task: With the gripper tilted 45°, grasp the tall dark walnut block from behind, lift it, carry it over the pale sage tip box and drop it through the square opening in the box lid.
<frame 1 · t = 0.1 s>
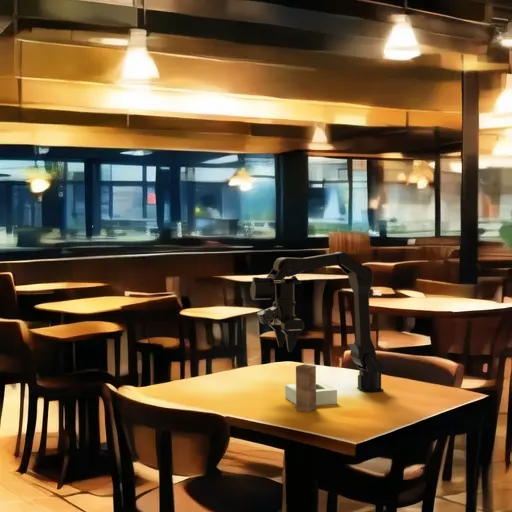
hand: (285, 349, 226), 14 cm above the table, tool pointing down, fingers open, 9 cm apart
walnut block: (306, 409, 210), on the table
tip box: (310, 400, 221), on the table
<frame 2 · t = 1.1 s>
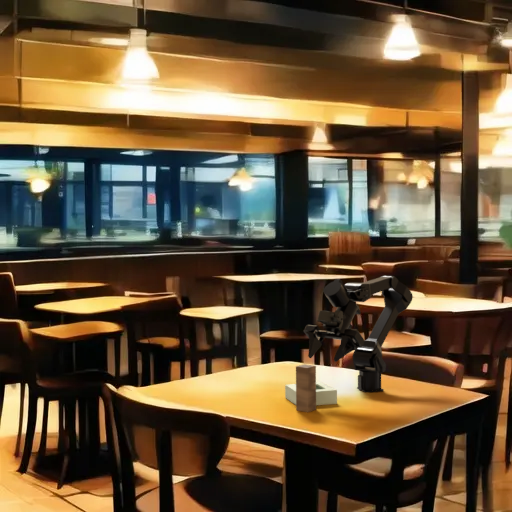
hand: (321, 359, 216), 13 cm above the table, tool tilted 45°, fingers open, 9 cm apart
nothing on the table moved.
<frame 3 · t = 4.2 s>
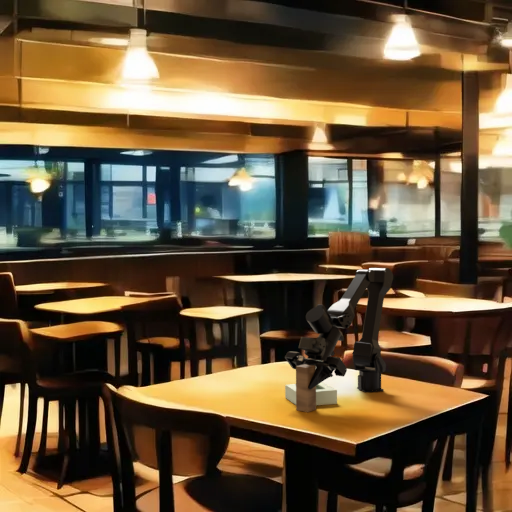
hand: (303, 387, 208), 7 cm above the table, tool tilted 45°, fingers closed on walnut block, 4 cm apart
walnut block: (306, 409, 210), on the table, touching gripper
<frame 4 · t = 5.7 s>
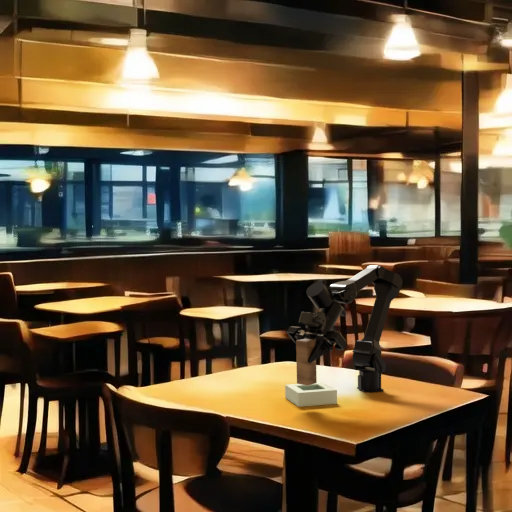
hand: (303, 361, 211), 13 cm above the table, tool tilted 45°, fingers closed on walnut block, 4 cm apart
walnut block: (306, 383, 213), point 7 cm above the table, touching gripper
when the fingers open (10 cm above the table, at t = 7.4 s): walnut block drops 3 cm, resting on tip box.
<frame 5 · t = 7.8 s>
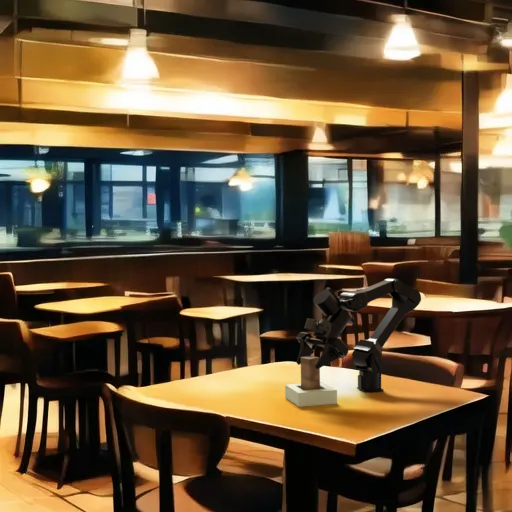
hand: (306, 366, 220), 11 cm above the table, tool tilted 45°, fingers open, 8 cm apart
walnut block: (310, 398, 221), point 1 cm above the table, touching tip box
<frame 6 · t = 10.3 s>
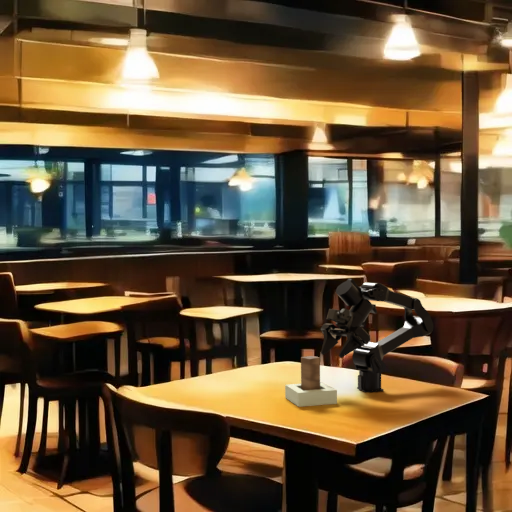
hand: (330, 355, 225), 13 cm above the table, tool tilted 45°, fingers open, 9 cm apart
nothing on the table moved.
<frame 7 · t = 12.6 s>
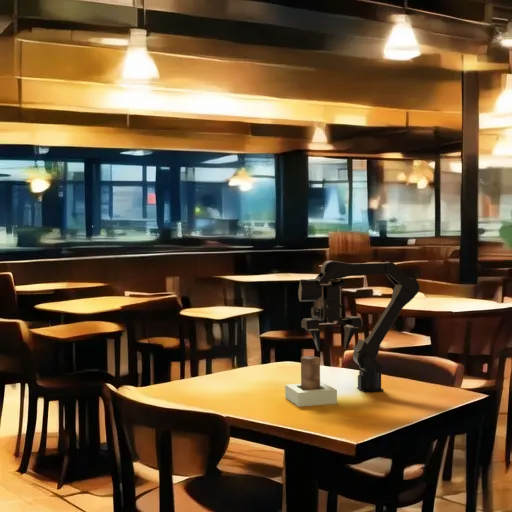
hand: (332, 349, 233), 13 cm above the table, tool pointing down, fingers open, 9 cm apart
nothing on the table moved.
at the end: walnut block inside the target area on the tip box (0.1 cm from its centre), point 0.5 cm above the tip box's base; the gripper is holding nothing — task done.
